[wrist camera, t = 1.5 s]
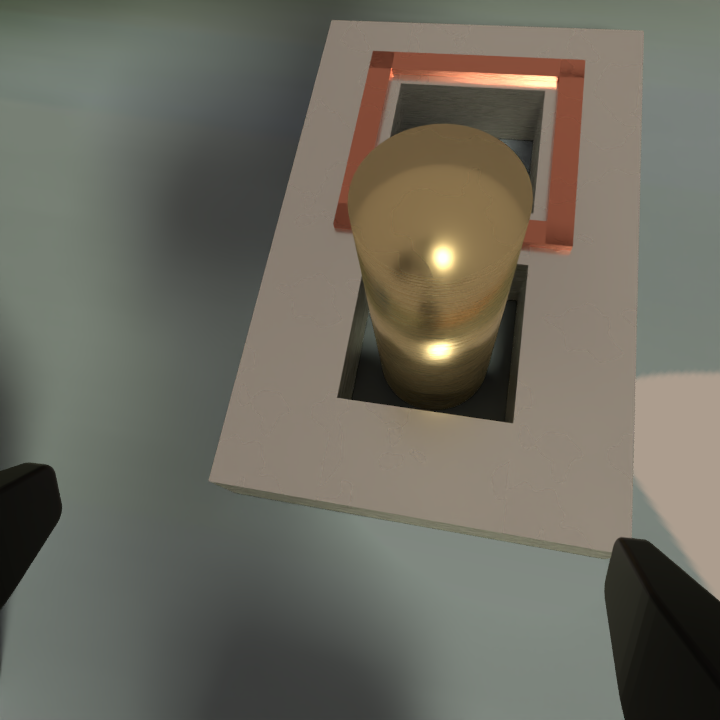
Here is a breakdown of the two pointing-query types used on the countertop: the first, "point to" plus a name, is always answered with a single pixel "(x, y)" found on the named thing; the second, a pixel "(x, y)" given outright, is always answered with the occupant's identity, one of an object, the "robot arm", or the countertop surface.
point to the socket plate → (529, 288)
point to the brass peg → (438, 254)
